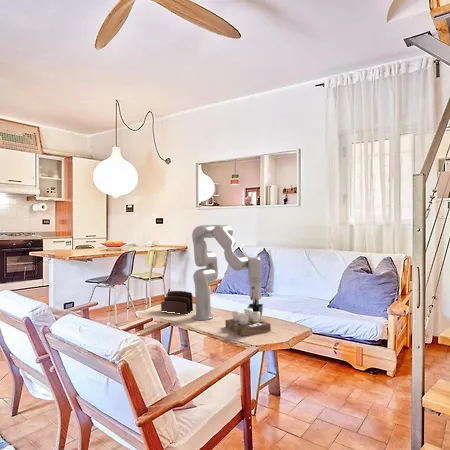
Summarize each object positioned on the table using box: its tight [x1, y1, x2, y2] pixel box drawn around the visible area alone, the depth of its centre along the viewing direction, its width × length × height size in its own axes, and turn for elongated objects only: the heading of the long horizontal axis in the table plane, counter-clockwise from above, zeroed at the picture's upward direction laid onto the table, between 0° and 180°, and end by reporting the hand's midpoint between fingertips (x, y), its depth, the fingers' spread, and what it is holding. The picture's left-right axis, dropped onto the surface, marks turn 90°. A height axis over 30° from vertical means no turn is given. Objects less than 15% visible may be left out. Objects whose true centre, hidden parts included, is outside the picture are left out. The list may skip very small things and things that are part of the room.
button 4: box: [251, 312, 261, 324], centre depth 198 cm, size 5×5×6 cm
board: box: [224, 318, 272, 337], centre depth 199 cm, size 20×18×4 cm
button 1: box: [232, 310, 242, 323], centre depth 202 cm, size 5×5×6 cm
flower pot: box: [247, 303, 264, 320], centre depth 217 cm, size 9×9×9 cm
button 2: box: [239, 312, 249, 327], centre depth 195 cm, size 5×5×6 cm
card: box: [248, 323, 262, 327], centre depth 192 cm, size 4×7×1 cm, turn 117°
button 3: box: [243, 307, 253, 321], centre depth 205 cm, size 5×5×6 cm
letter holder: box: [160, 290, 194, 315], centre depth 241 cm, size 10×20×14 cm, turn 68°
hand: (255, 311), depth 198 cm, fingers closed
